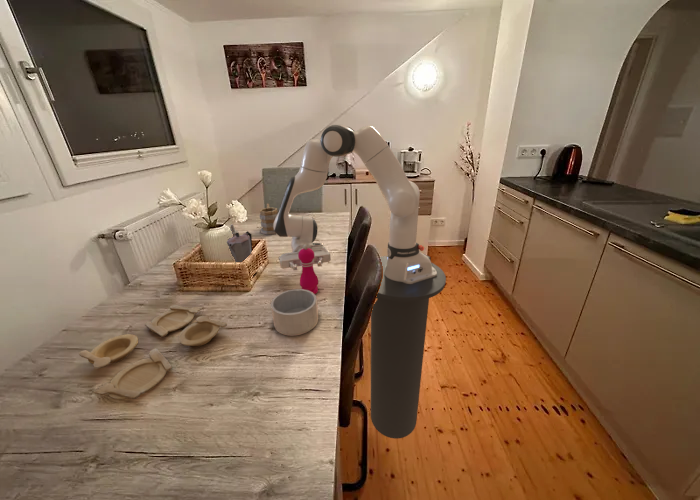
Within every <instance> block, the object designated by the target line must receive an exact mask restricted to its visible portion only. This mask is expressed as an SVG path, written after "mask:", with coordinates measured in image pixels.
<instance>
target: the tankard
mask: <svg viewBox="0 0 700 500" xmlns="http://www.w3.org/2000/svg"><path fill="white" fill-rule="evenodd" d="M278 211H279V210H278V208H277V207H270V203H266V207H264V208H262V209H261V208H260V210H259V219H260V220H261V221H260V227H261V228H260V233H261V234H263V235H267V236H268V235H277V234H276V233H275V231H274V227H273V225H274V220H275V218H276V216H277V214H278Z"/></svg>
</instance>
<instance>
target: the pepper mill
mask: <svg viewBox="0 0 700 500" xmlns="http://www.w3.org/2000/svg"><path fill="white" fill-rule="evenodd" d="M298 257H299V259H300V260H301V261H300V263H301V266H300V267H301V275H300V277H299V286H300V287H301V289H304V290H309V291H311V292H313V293H314V294H315V295H316V294H318V292H319V290H318V289H319V287H318V285H319V277H318V276H317V274H316V272H315V270H314V265H315V264H314V260H313V259H314V252H313V250H312V249H310V248H308V246H307V245H304V246H303V249H301V250H300V251H299V254H298Z"/></svg>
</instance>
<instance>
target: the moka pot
mask: <svg viewBox="0 0 700 500" xmlns="http://www.w3.org/2000/svg"><path fill="white" fill-rule="evenodd" d="M235 235H236V236H234V237H232V238H229V239H227V241H226V244H227V247H228V246H229V248H228V250H229V249H230V251H231V254H232V256H233V257H234V259H235V261H234V262H235V263H236V262H242V261H243V260H245V259H246V258H247V257H248V256H249V255H250V254H251V255H252V253H253V252H252V251H253V236H252V233H251V232H250V231H248V230H246V231H245V233H242V234H240V233H236V234H235Z"/></svg>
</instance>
